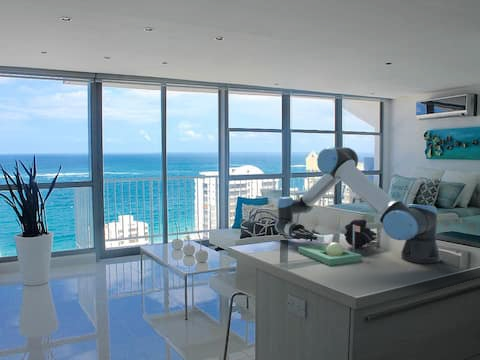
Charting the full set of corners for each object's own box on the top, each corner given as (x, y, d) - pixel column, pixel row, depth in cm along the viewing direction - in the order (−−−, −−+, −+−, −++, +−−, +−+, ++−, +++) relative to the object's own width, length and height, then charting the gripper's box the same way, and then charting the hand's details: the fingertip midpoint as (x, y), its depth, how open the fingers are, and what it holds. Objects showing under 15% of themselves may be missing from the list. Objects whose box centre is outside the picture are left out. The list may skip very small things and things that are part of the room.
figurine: (389, 229, 207) (365, 217, 184) (385, 255, 204) (360, 246, 182) (362, 226, 216) (336, 214, 193) (358, 251, 213) (331, 241, 191)
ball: (346, 243, 177) (340, 253, 181) (331, 236, 178) (325, 246, 182) (344, 254, 172) (337, 264, 176) (328, 247, 172) (322, 257, 177)
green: (298, 252, 189) (298, 246, 189) (327, 248, 195) (327, 243, 195) (329, 265, 167) (329, 259, 166) (361, 261, 173) (361, 255, 173)
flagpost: (352, 256, 180) (352, 224, 179) (353, 256, 180) (353, 224, 180) (358, 259, 176) (359, 226, 175) (360, 258, 176) (360, 226, 176)
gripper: (306, 237, 209) (334, 246, 187) (283, 239, 204) (309, 249, 182) (306, 222, 208) (334, 230, 187) (283, 224, 203) (309, 232, 182)
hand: (322, 239), depth 184 cm, fingers closed
